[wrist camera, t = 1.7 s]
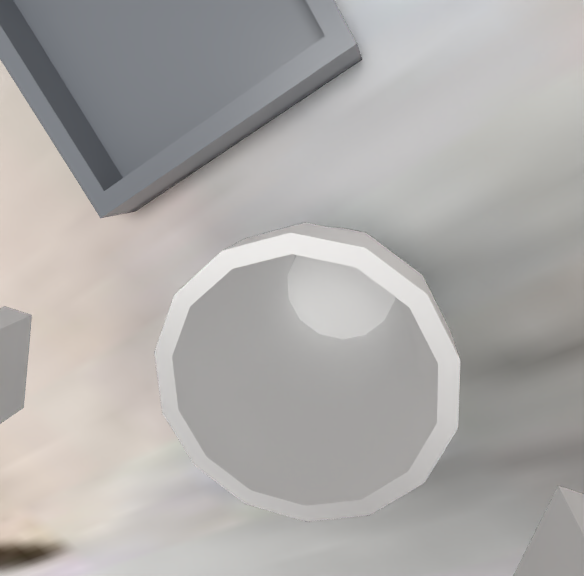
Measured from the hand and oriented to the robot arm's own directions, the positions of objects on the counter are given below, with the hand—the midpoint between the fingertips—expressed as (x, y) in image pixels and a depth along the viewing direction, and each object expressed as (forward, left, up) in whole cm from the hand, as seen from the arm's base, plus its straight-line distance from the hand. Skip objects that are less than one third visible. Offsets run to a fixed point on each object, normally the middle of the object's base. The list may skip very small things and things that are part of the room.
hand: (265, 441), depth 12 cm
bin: (+17, +1, -16) cm, 23 cm away
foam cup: (0, 0, -16) cm, 16 cm away
